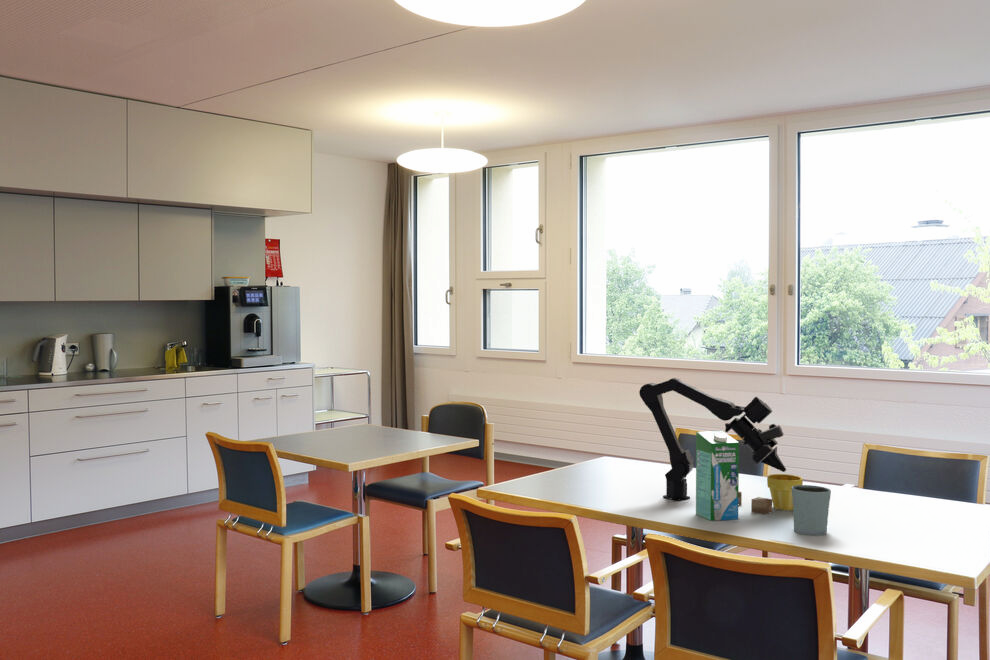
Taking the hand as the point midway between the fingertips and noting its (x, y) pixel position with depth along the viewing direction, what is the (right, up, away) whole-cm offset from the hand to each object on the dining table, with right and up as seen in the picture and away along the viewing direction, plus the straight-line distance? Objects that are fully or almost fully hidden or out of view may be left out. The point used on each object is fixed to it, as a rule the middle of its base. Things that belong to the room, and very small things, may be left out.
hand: (785, 470), depth 253 cm
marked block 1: (-15, -12, +7) cm, 20 cm away
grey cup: (-3, -12, -27) cm, 30 cm away
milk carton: (-24, -12, -11) cm, 29 cm away
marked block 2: (-9, -12, -5) cm, 16 cm away
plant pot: (0, -12, 0) cm, 12 cm away
